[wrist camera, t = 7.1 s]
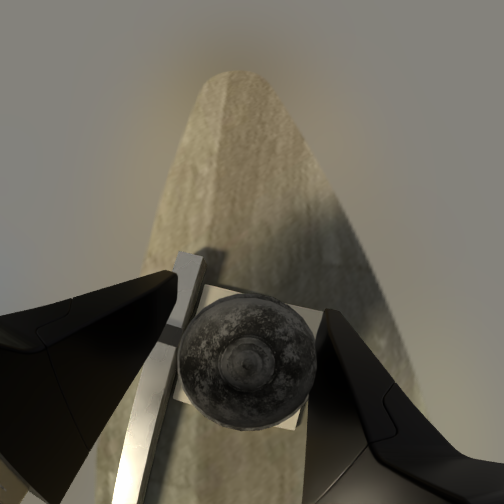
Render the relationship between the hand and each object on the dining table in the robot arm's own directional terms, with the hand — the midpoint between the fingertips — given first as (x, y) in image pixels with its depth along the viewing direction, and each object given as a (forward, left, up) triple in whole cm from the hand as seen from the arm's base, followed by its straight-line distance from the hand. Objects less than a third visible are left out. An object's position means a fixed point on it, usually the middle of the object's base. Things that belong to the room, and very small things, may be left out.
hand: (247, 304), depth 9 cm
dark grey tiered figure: (-2, 0, -8) cm, 8 cm away
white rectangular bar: (-5, +4, -8) cm, 10 cm away
